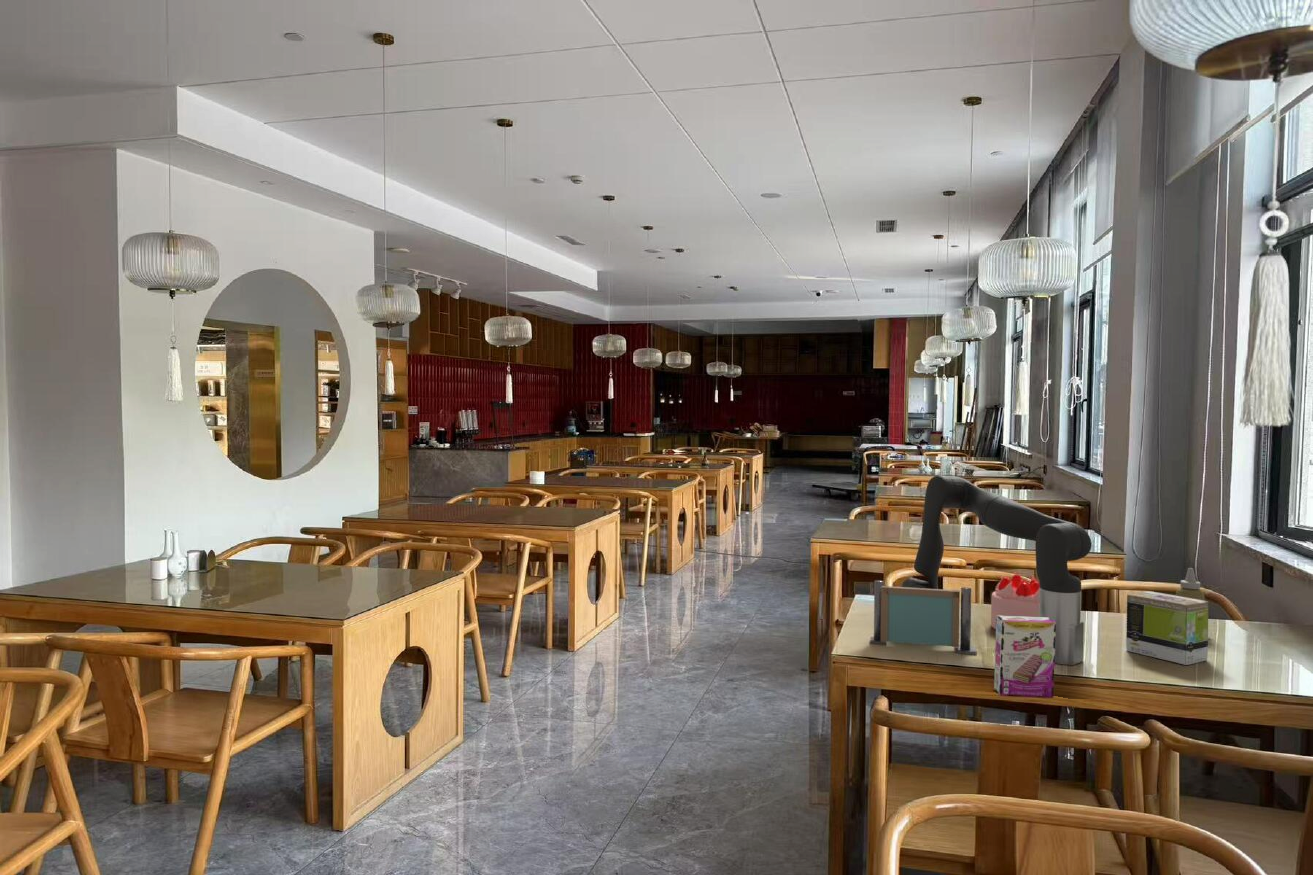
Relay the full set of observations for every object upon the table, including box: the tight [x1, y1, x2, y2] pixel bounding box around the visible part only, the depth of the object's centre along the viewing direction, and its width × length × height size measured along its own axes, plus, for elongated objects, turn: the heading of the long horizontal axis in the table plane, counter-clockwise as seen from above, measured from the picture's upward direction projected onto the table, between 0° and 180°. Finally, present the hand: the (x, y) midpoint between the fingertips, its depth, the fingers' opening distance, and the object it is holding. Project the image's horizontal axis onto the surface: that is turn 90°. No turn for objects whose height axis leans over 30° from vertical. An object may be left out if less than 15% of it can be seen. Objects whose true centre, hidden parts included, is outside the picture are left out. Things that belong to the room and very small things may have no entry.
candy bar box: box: [993, 616, 1056, 699], centre depth 183 cm, size 11×5×16 cm, turn 84°
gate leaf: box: [881, 585, 961, 648], centre depth 219 cm, size 19×2×14 cm, turn 74°
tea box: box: [1125, 590, 1209, 666], centre depth 213 cm, size 15×10×15 cm
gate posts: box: [869, 579, 978, 656], centre depth 220 cm, size 26×7×16 cm, turn 74°
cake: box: [990, 574, 1039, 630], centre depth 238 cm, size 20×20×14 cm
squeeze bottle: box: [1175, 567, 1206, 601], centre depth 234 cm, size 8×8×18 cm
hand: (921, 618), depth 221 cm, fingers closed
